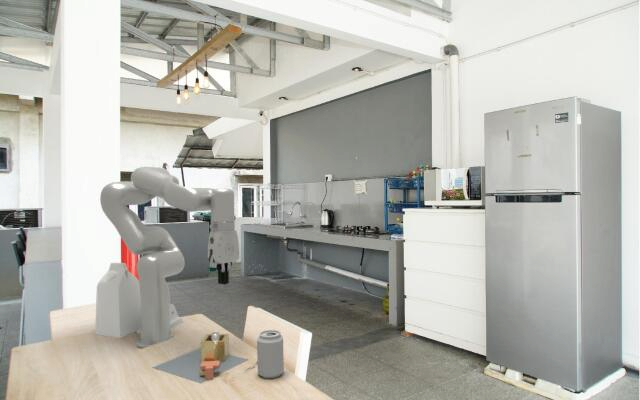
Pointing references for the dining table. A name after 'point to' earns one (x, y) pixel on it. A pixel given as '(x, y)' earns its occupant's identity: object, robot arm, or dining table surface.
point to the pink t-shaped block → (209, 368)
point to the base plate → (196, 365)
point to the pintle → (215, 336)
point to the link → (214, 349)
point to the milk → (118, 302)
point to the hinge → (174, 317)
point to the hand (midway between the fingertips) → (223, 283)
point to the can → (270, 354)
